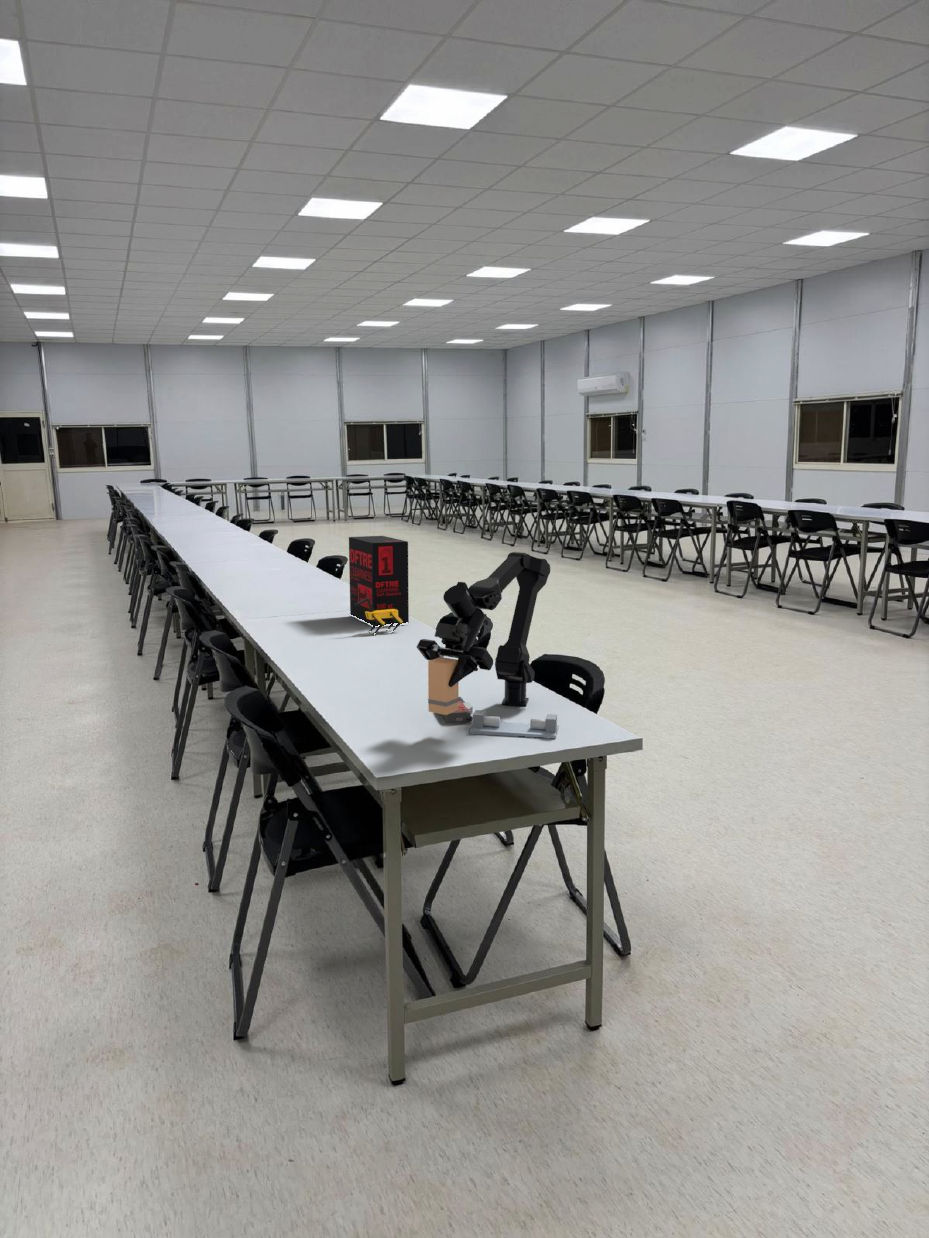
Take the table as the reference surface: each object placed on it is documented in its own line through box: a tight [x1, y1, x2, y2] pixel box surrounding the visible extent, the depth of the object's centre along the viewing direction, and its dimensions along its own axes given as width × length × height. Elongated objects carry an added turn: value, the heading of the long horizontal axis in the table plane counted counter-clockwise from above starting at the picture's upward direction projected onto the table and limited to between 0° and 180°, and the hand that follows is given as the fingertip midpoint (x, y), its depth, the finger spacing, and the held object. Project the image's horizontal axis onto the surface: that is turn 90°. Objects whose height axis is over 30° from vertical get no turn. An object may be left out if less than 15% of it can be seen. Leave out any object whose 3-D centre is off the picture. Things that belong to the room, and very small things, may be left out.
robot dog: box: [354, 598, 403, 634], centre depth 321 cm, size 6×18×13 cm, turn 120°
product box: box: [348, 535, 410, 626], centre depth 344 cm, size 26×14×32 cm, turn 27°
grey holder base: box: [469, 709, 559, 739], centre depth 209 cm, size 8×20×4 cm, turn 79°
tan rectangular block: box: [427, 656, 460, 715], centre depth 204 cm, size 5×5×12 cm
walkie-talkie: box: [438, 696, 474, 725], centre depth 224 cm, size 9×4×20 cm
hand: (440, 684), depth 203 cm, fingers closed on tan rectangular block, 5 cm apart
